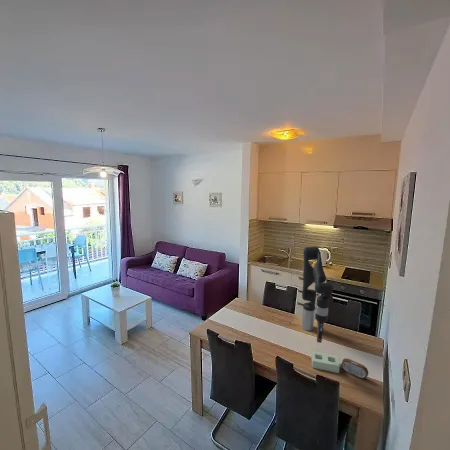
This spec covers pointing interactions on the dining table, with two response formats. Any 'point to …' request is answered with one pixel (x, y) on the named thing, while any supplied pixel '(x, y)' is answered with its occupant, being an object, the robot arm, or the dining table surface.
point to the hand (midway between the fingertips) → (319, 337)
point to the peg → (318, 339)
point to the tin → (355, 368)
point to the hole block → (325, 362)
